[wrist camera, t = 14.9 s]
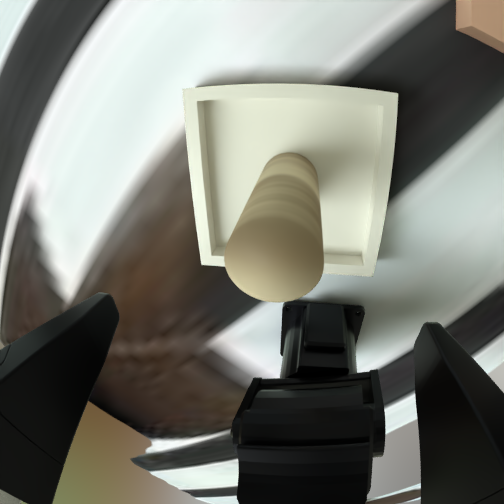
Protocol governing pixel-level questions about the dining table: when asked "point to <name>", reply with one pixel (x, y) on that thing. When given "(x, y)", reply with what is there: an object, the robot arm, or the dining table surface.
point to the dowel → (279, 233)
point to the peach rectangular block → (482, 21)
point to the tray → (300, 142)
